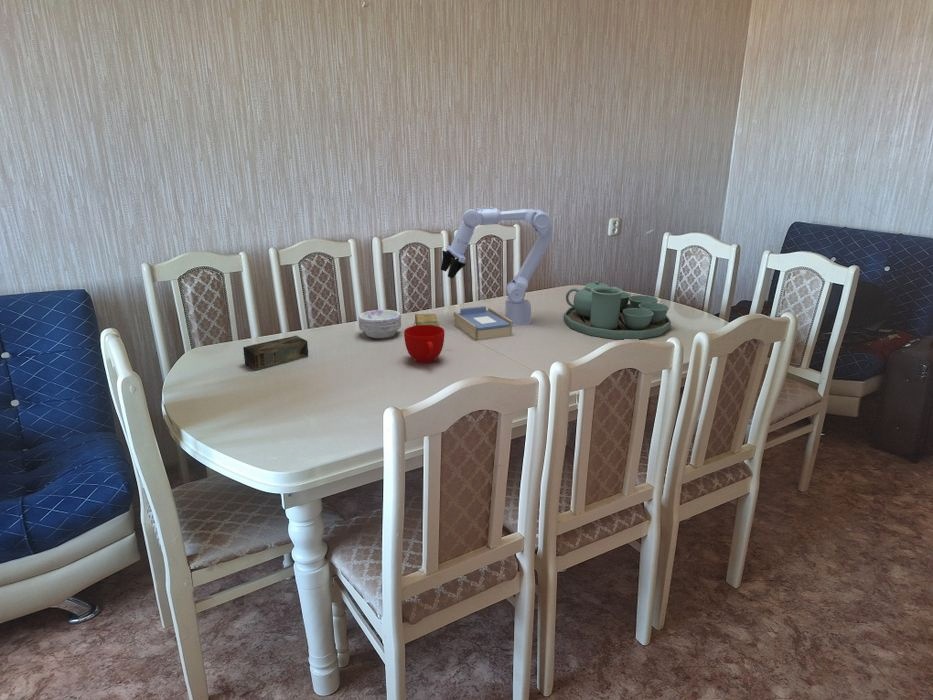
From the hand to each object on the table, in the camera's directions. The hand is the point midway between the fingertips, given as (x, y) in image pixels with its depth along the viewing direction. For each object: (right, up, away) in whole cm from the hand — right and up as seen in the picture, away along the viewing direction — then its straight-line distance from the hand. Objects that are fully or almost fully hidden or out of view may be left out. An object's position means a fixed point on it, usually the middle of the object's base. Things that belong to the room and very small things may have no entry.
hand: (446, 273), depth 225 cm
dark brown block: (-54, -33, -31) cm, 70 cm away
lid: (+13, -18, -3) cm, 23 cm away
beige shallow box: (+13, -22, -2) cm, 26 cm away
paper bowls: (-24, -23, -6) cm, 34 cm away
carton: (-7, -21, +1) cm, 23 cm away
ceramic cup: (-6, -33, -32) cm, 46 cm away
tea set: (+65, -19, +8) cm, 69 cm away
